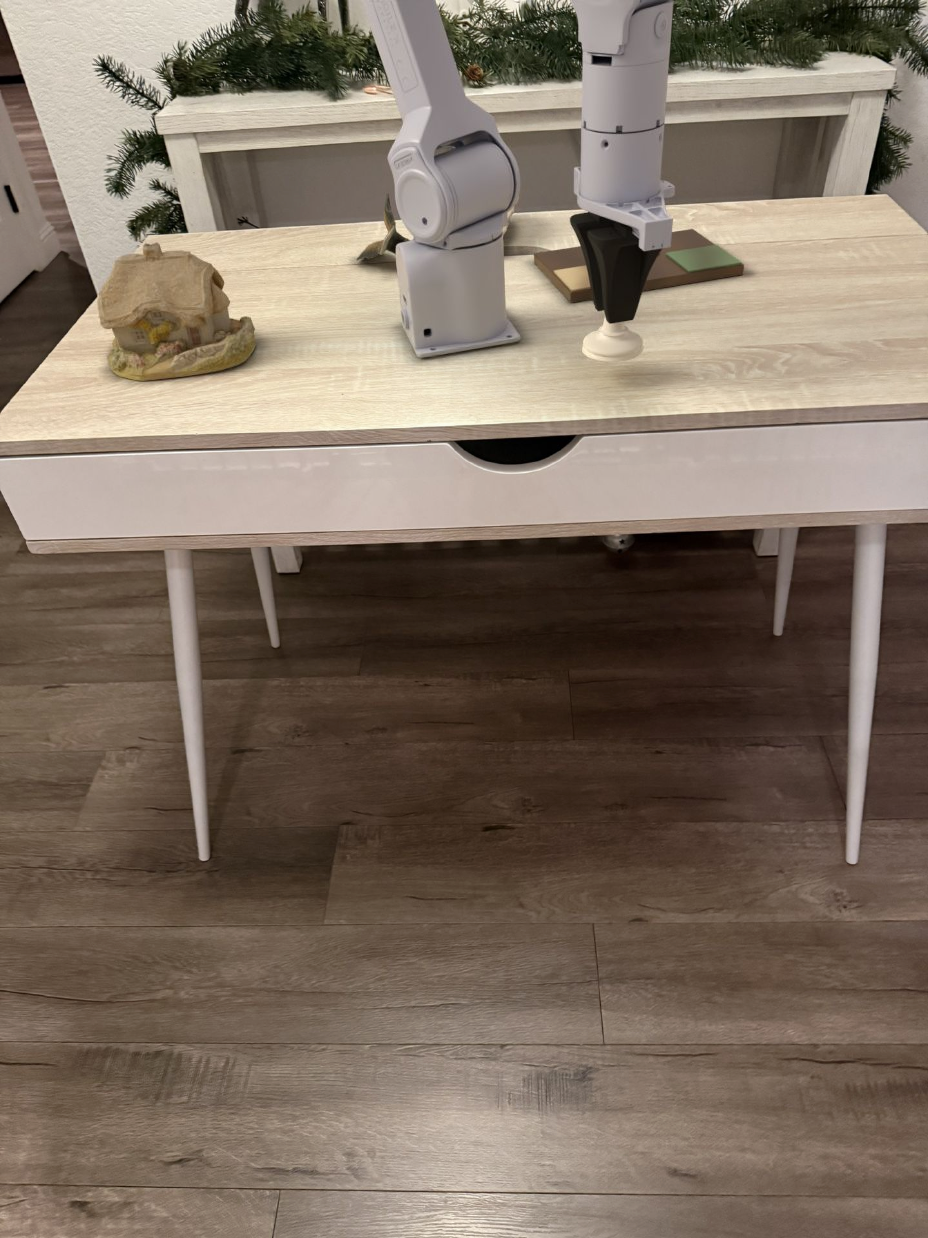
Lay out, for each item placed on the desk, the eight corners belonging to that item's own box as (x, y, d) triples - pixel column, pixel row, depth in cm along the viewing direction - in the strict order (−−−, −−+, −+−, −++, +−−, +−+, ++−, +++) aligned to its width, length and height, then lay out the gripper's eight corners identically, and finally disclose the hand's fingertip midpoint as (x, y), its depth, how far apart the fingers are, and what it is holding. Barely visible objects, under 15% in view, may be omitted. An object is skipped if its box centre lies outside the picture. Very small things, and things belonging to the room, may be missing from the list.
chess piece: (583, 336, 76) (585, 210, 70) (643, 336, 76) (651, 209, 69) (580, 362, 73) (583, 232, 66) (643, 362, 72) (652, 231, 66)
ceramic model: (89, 384, 82) (48, 271, 75) (128, 332, 90) (95, 227, 84) (243, 376, 81) (216, 262, 74) (268, 325, 89) (246, 218, 83)
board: (570, 302, 88) (570, 290, 88) (533, 262, 97) (533, 251, 97) (743, 274, 91) (744, 262, 90) (691, 237, 100) (692, 226, 99)
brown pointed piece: (453, 248, 99) (401, 216, 103) (427, 202, 93) (373, 170, 97) (407, 301, 99) (357, 268, 103) (377, 259, 93) (325, 225, 97)
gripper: (723, 139, 59) (701, 342, 67) (637, 95, 69) (627, 275, 78) (619, 154, 58) (610, 357, 66) (548, 107, 68) (549, 287, 77)
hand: (614, 314), depth 72 cm, fingers closed on chess piece
